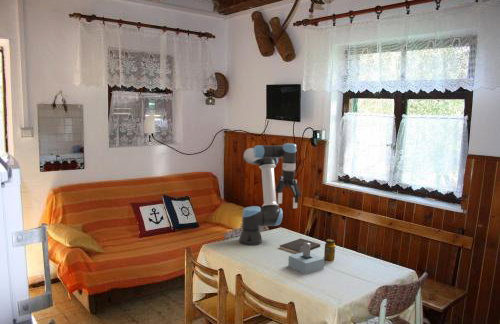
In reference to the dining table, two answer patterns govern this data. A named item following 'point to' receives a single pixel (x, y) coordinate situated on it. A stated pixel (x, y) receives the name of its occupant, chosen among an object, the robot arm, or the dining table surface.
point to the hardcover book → (298, 245)
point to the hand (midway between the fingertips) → (287, 205)
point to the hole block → (306, 263)
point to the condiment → (329, 251)
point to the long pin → (306, 250)
